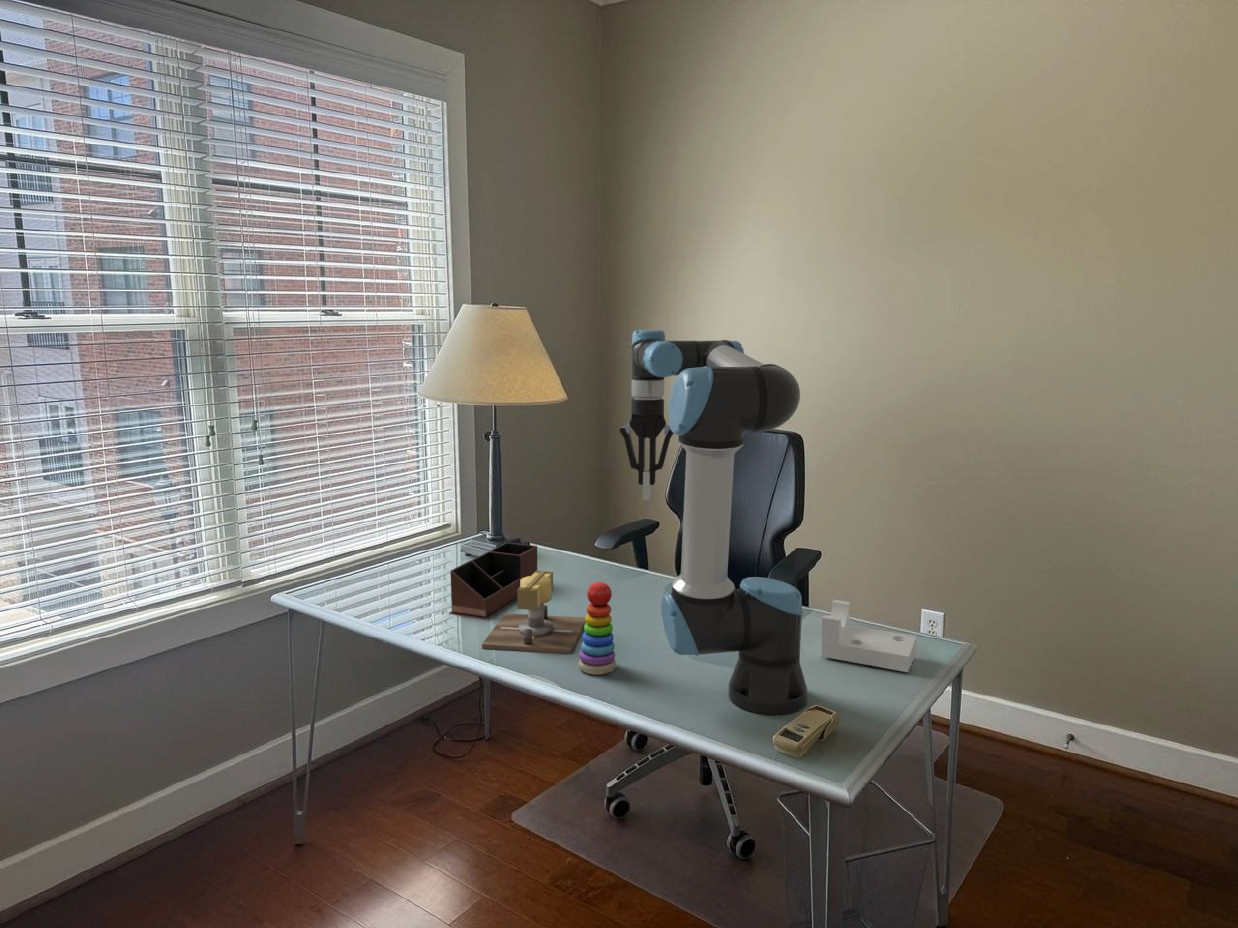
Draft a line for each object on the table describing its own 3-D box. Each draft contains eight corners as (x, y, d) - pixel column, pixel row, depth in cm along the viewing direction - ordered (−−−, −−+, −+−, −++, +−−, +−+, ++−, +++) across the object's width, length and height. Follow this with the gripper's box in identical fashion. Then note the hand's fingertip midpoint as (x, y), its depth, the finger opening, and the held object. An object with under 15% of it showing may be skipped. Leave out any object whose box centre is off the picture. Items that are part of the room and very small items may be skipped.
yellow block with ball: (530, 588, 212) (530, 569, 211) (559, 590, 211) (558, 571, 210) (511, 608, 198) (511, 587, 197) (541, 610, 197) (541, 589, 196)
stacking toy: (602, 679, 182) (603, 591, 178) (570, 670, 186) (570, 584, 183) (623, 666, 188) (624, 581, 185) (591, 658, 192) (591, 574, 189)
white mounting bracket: (821, 661, 193) (822, 617, 190) (832, 642, 201) (833, 599, 198) (907, 677, 185) (910, 631, 182) (915, 656, 193) (917, 612, 190)
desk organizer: (540, 585, 242) (539, 545, 240) (486, 620, 215) (484, 575, 213) (506, 580, 246) (505, 541, 244) (448, 615, 219) (447, 570, 217)
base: (570, 653, 195) (570, 617, 193) (481, 648, 198) (481, 612, 196) (586, 621, 214) (586, 588, 213) (505, 617, 217) (504, 584, 216)
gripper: (677, 396, 208) (675, 495, 212) (621, 395, 209) (621, 493, 213) (675, 400, 200) (673, 502, 204) (617, 399, 202) (616, 500, 206)
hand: (646, 498), depth 209 cm, fingers closed
